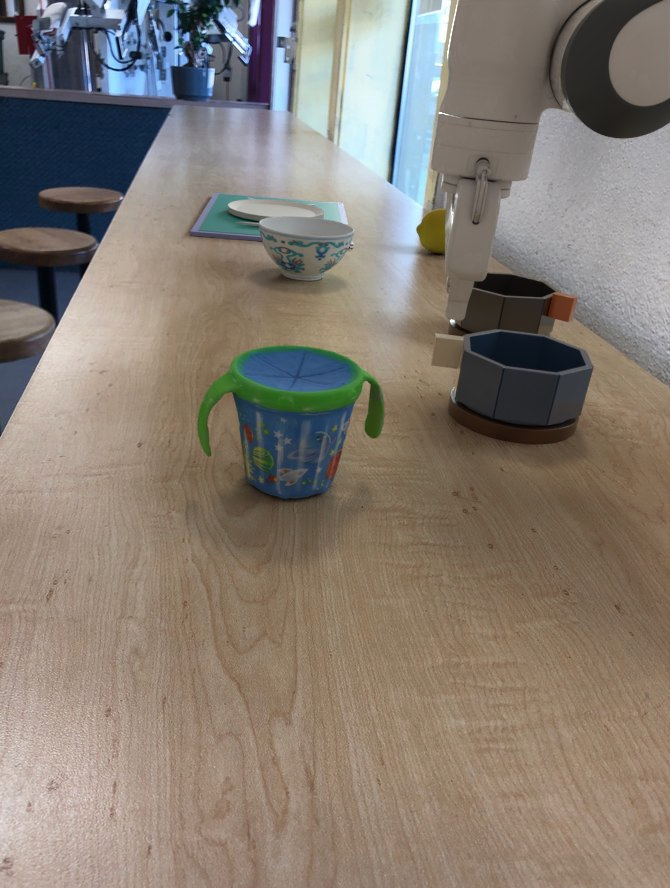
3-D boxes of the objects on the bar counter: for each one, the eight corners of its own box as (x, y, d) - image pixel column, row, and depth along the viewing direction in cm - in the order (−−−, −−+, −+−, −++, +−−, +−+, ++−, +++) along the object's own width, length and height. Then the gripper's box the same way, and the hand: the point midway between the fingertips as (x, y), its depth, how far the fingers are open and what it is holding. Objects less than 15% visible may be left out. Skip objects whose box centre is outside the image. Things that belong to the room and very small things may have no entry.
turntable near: (567, 401, 87) (570, 388, 87) (584, 452, 76) (588, 438, 75) (447, 385, 89) (450, 372, 88) (447, 433, 77) (450, 419, 77)
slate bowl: (567, 388, 86) (581, 335, 83) (584, 435, 76) (601, 376, 73) (427, 370, 88) (436, 317, 85) (424, 413, 77) (434, 355, 74)
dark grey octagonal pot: (435, 323, 104) (443, 277, 101) (480, 307, 112) (488, 264, 109) (543, 355, 96) (555, 306, 93) (583, 334, 104) (595, 289, 101)
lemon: (414, 255, 146) (421, 210, 142) (410, 246, 153) (416, 203, 149) (472, 260, 146) (481, 215, 142) (465, 250, 153) (473, 207, 149)
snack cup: (206, 519, 60) (209, 395, 55) (187, 456, 69) (188, 345, 64) (396, 506, 64) (415, 389, 59) (356, 448, 73) (369, 342, 68)
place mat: (214, 196, 185) (214, 186, 184) (342, 206, 186) (343, 196, 185) (190, 235, 146) (190, 223, 145) (352, 248, 147) (354, 235, 146)
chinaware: (368, 282, 126) (374, 232, 123) (295, 292, 118) (299, 239, 114) (308, 260, 136) (312, 214, 132) (238, 268, 128) (239, 219, 124)
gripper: (527, 171, 62) (491, 340, 69) (509, 146, 79) (482, 283, 86) (446, 162, 62) (418, 331, 69) (447, 140, 80) (424, 276, 87)
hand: (454, 304), depth 78 cm, fingers open, 8 cm apart
